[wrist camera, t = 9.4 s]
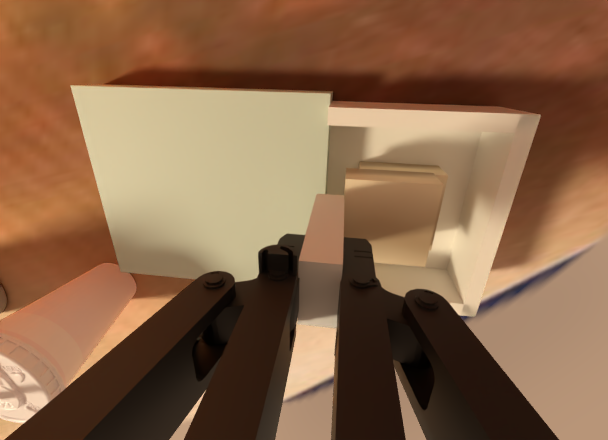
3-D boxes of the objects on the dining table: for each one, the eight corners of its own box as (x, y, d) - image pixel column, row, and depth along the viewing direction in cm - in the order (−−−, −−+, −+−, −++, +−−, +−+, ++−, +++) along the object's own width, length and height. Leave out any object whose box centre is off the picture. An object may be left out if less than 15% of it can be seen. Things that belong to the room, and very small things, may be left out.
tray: (332, 100, 18) (328, 107, 14) (499, 106, 17) (541, 114, 13) (323, 264, 22) (318, 300, 19) (454, 276, 21) (475, 316, 18)
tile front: (346, 167, 17) (345, 178, 15) (433, 172, 16) (443, 184, 14) (340, 241, 19) (339, 259, 17) (417, 247, 18) (425, 266, 16)
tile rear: (359, 161, 19) (360, 170, 17) (438, 165, 18) (448, 175, 16) (352, 229, 20) (352, 243, 19) (423, 234, 20) (431, 250, 18)
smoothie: (80, 300, 27) (-153, 494, 15) (75, 238, 24) (-218, 412, 12) (150, 321, 27) (-22, 534, 14) (153, 261, 24) (-57, 461, 12)
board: (103, 84, 19) (70, 85, 17) (332, 91, 18) (330, 93, 15) (141, 253, 24) (120, 271, 22) (322, 270, 23) (319, 291, 20)
